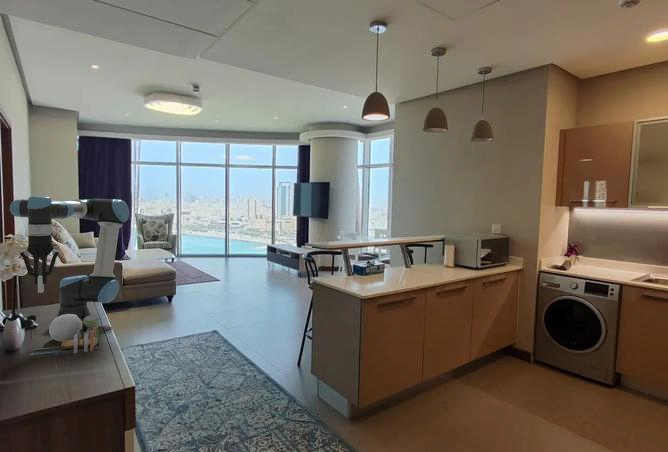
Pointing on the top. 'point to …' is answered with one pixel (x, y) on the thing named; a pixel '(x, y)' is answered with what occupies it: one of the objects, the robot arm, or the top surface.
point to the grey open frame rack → (56, 351)
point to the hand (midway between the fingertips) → (40, 291)
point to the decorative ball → (65, 327)
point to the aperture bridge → (92, 338)
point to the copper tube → (70, 343)
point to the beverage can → (91, 324)
